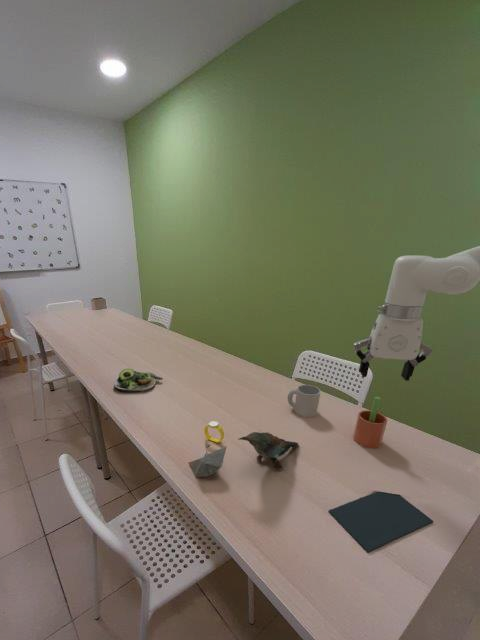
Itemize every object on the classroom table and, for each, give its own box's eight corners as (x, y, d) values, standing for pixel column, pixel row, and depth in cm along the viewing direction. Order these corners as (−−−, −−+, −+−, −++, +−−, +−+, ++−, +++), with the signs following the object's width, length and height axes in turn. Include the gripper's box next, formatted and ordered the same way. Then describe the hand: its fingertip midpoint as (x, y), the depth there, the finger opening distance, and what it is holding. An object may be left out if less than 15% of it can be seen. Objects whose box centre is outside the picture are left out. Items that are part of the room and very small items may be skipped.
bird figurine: (282, 433, 90) (262, 394, 77) (310, 452, 82) (293, 411, 70) (253, 467, 87) (227, 431, 74) (279, 489, 79) (256, 453, 67)
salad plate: (165, 374, 133) (165, 364, 131) (159, 393, 117) (158, 382, 115) (123, 374, 134) (121, 364, 133) (110, 393, 118) (109, 382, 116)
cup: (314, 421, 97) (318, 396, 93) (283, 413, 102) (286, 389, 98) (318, 410, 102) (322, 387, 99) (289, 403, 107) (291, 381, 104)
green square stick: (368, 439, 87) (379, 396, 81) (370, 442, 86) (381, 399, 80) (363, 438, 87) (373, 396, 82) (364, 441, 86) (375, 398, 80)
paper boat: (181, 478, 74) (180, 447, 81) (195, 489, 77) (194, 458, 84) (223, 461, 70) (219, 429, 77) (236, 473, 73) (231, 442, 80)
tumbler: (376, 436, 89) (382, 411, 85) (383, 451, 83) (391, 425, 79) (350, 433, 90) (355, 409, 87) (355, 447, 84) (361, 422, 81)
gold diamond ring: (225, 441, 88) (225, 424, 86) (220, 446, 86) (221, 429, 84) (207, 435, 91) (207, 418, 89) (203, 439, 89) (202, 422, 87)
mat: (388, 488, 71) (389, 486, 71) (432, 522, 62) (433, 520, 62) (328, 511, 65) (328, 510, 65) (367, 552, 56) (368, 551, 56)
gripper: (365, 313, 69) (350, 379, 76) (452, 316, 65) (428, 386, 72) (357, 306, 76) (344, 368, 83) (436, 309, 72) (415, 373, 79)
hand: (383, 376), depth 78 cm, fingers open, 9 cm apart
